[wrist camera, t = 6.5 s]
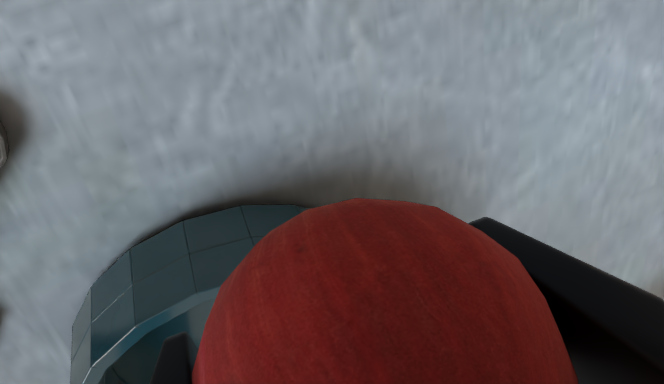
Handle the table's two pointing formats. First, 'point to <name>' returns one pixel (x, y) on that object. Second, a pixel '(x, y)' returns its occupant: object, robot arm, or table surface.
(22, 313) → the table surface
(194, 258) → the bowl
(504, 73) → the table surface
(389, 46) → the table surface
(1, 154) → the throwing knife
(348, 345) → the onion
